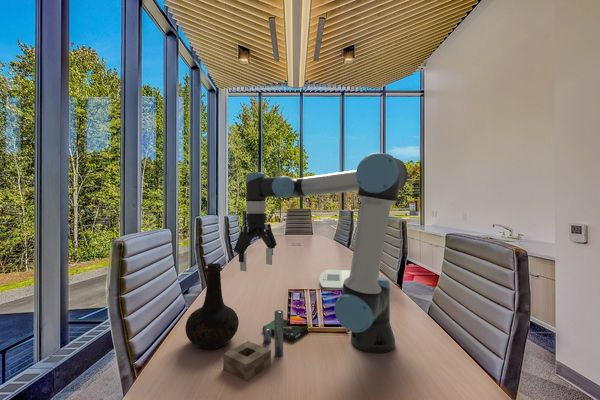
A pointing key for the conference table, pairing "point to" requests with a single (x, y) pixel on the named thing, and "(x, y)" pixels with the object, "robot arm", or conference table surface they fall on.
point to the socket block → (246, 360)
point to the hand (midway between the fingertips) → (256, 267)
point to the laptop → (333, 278)
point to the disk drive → (288, 331)
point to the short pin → (267, 335)
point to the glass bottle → (212, 315)
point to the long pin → (278, 333)
